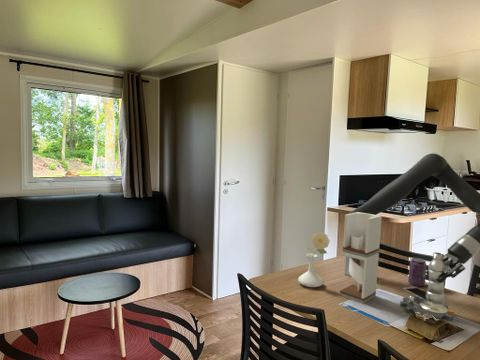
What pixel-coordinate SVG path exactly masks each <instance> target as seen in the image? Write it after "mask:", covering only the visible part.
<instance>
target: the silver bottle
mask: <svg viewBox="0 0 480 360" xmlns="http://www.w3.org/2000/svg"><path fill="white" fill-rule="evenodd" d="M444 255H445V254H444V253H442V252H437V251H436V252H433V253H432V260H431V261H430V262H429V264H428V266H427V268H428V269H427V270H429V276H428V285H427V289H426V291H425V292H426V300H427V301H428V302H429V303H431V304H434V305H442V304H445V298H446V297H445V285H444V284H445V280H444V281H443V282H441V283H439V282H438V281H437V280H436V278H437V277H438V276H439V275H440V274H442V273H444V271H445V269H446V268H445V266H446V265H445V263H444V261H443V260H444Z"/></svg>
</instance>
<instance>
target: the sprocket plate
mask: <svg viewBox="0 0 480 360" xmlns="http://www.w3.org/2000/svg"><path fill="white" fill-rule="evenodd" d="M399 306H400V307H402V308H404V312H406V313H407V314H414V313H415V312H420V313H428V314H431V315H433V316H434V317H435V318H436V319H439V320H441V321H442V320H446V321H448V322H450V321H452V320H453V317H454V316H455V311H454V309H453V310H452V309H449V306H448V305H447V304H446V303H443V304H442V305H434V304H431V303H429V302H428V301H427V300H426V299H421V298H419V297H417V296H416V295H414V296H413V295H409V297H407V296H404V297H402V300H400V302H399Z"/></svg>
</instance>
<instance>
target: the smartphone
mask: <svg viewBox="0 0 480 360" xmlns="http://www.w3.org/2000/svg"><path fill="white" fill-rule="evenodd" d="M402 290H404V291H406V292H408V293H410V294H412V295H414V296H416V297H419V298H421V299H426V292H427V291H425V290H422V289H421V288H418V286H409V287H402Z"/></svg>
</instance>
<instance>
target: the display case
mask: <svg viewBox="0 0 480 360" xmlns="http://www.w3.org/2000/svg"><path fill="white" fill-rule="evenodd" d="M382 218H383V216H382V215H379V214H377V215H373V214H367V213H361V212H356V213H351V214H349V213H348V214H347V213H346V214H344V224H343V225H344V227H343V239H342V241H343V243H342V253H341V254H342V256H345V257H346V256H349V257H350V263H349V273H350V275H351V276H352V279H353V280H354V283H352V284H351V285H348V286H346V287H344V288H342V289H340V290H339V296H341V297H344V298H346V299H348V300H352V301H355V302H357V303H360V302H361V303H360V304H363V303H364V304H365V303H367V302H368V301H370V300H373V298H375V297H376V293H377V282H378V271H379V257H380V244H381V232H382V231H381V228H382ZM351 276H350V277H351Z"/></svg>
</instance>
